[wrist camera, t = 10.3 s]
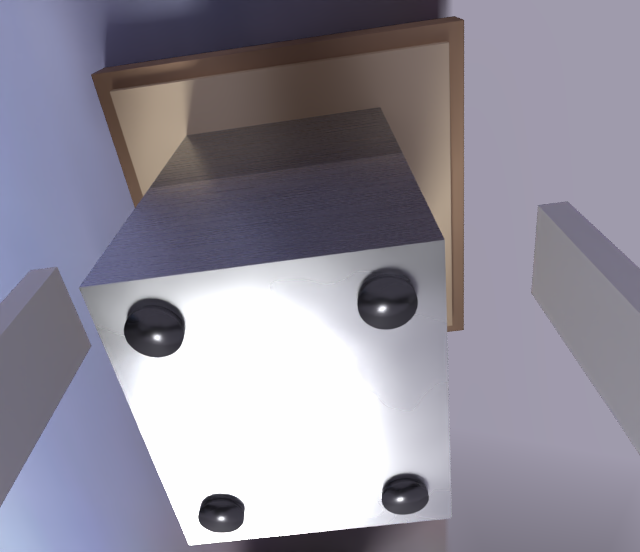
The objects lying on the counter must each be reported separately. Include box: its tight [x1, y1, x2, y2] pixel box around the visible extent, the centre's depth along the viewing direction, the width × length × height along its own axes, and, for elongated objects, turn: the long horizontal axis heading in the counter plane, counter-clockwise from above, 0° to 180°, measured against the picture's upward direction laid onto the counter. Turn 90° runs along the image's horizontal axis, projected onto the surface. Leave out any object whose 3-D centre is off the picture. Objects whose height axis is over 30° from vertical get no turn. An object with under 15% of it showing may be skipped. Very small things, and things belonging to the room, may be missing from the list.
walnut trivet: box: [91, 16, 464, 332], centre depth 19 cm, size 11×11×2 cm
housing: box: [79, 107, 452, 545], centre depth 14 cm, size 6×7×9 cm
